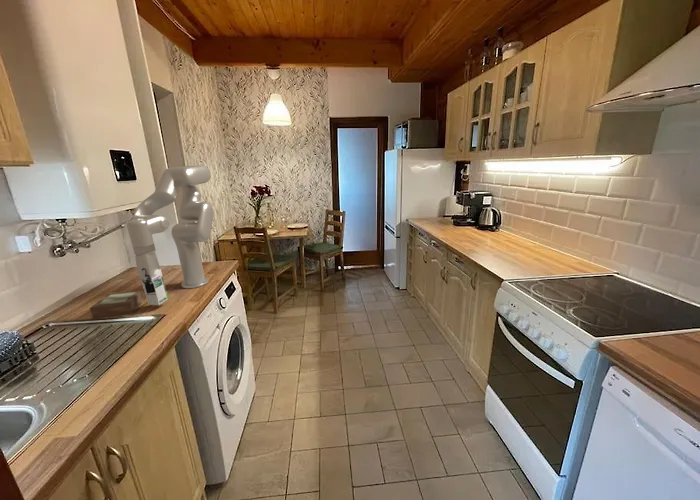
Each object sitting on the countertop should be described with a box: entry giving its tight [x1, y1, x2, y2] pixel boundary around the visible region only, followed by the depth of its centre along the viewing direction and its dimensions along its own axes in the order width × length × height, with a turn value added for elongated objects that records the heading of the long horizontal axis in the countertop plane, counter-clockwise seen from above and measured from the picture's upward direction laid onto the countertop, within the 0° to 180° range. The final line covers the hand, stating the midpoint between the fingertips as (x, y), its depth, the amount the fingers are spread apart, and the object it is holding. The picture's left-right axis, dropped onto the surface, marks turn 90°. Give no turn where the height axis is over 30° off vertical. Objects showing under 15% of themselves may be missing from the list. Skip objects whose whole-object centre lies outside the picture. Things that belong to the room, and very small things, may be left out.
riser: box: [89, 290, 145, 320], centre depth 137 cm, size 14×14×5 cm
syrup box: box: [140, 268, 170, 306], centre depth 136 cm, size 6×6×14 cm
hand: (154, 288), depth 136 cm, fingers closed on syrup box, 7 cm apart
